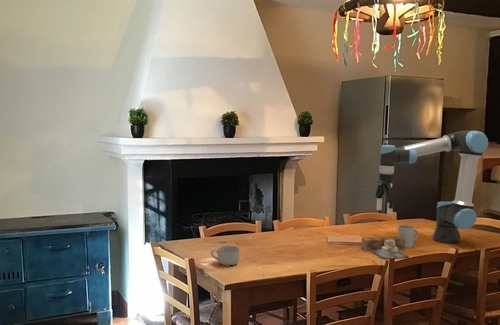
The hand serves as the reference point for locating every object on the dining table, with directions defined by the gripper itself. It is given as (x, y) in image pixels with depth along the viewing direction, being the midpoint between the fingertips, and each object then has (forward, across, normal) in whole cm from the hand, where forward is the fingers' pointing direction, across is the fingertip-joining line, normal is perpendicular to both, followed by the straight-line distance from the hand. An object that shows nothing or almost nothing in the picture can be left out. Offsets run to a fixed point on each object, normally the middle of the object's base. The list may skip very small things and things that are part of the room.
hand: (384, 212), depth 259 cm
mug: (+20, -2, +17) cm, 26 cm away
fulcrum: (+20, +14, -2) cm, 24 cm away
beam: (+20, +2, 0) cm, 20 cm away
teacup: (+23, +20, -88) cm, 93 cm away
